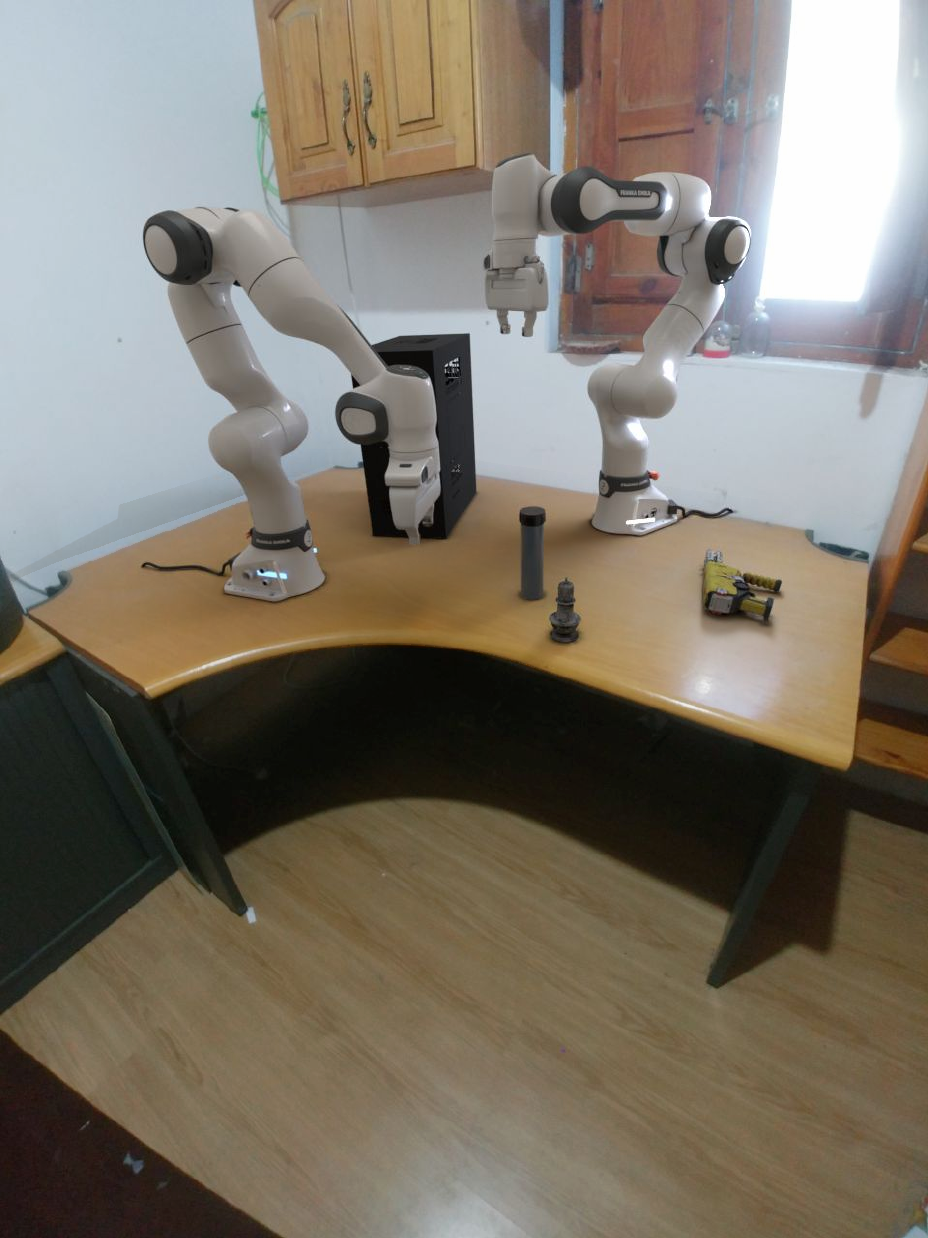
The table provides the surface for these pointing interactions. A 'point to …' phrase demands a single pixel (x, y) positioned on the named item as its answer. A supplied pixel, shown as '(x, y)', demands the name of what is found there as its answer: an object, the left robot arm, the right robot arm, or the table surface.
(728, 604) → the toy gun
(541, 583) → the grey cylindrical piece
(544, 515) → the lid
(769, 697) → the table surface
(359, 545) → the table surface
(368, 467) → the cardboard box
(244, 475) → the left robot arm
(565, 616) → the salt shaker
